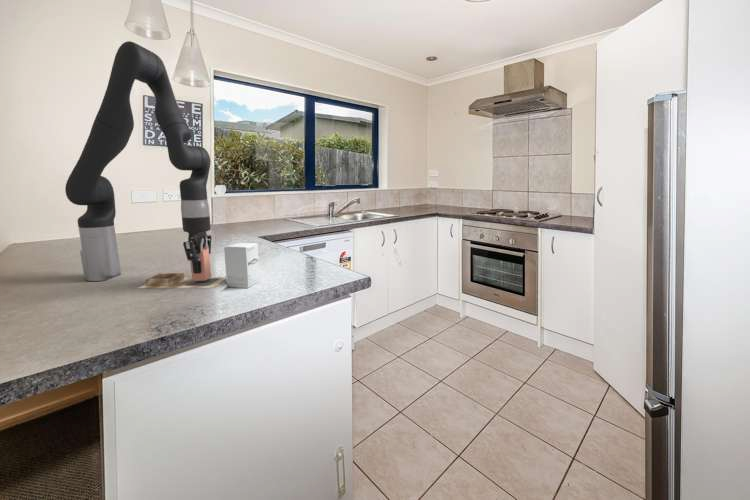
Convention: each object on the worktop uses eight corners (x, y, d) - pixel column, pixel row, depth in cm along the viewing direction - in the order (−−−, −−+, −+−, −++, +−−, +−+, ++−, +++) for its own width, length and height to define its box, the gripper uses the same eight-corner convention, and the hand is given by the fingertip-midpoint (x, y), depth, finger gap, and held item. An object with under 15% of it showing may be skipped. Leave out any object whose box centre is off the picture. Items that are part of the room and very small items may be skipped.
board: (137, 291, 105) (135, 281, 105) (158, 280, 116) (157, 271, 116) (213, 290, 106) (212, 280, 105) (227, 280, 117) (226, 271, 116)
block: (192, 280, 109) (189, 251, 107) (198, 276, 113) (195, 248, 111) (205, 280, 109) (202, 251, 107) (211, 276, 113) (208, 248, 111)
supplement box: (248, 288, 108) (245, 247, 106) (226, 287, 110) (222, 246, 107) (260, 281, 115) (258, 243, 113) (239, 280, 117) (236, 242, 114)
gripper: (197, 217, 100) (203, 277, 103) (218, 212, 114) (222, 265, 117) (170, 217, 100) (176, 277, 103) (194, 212, 114) (199, 265, 117)
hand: (201, 270), depth 110 cm, fingers closed on block, 4 cm apart
